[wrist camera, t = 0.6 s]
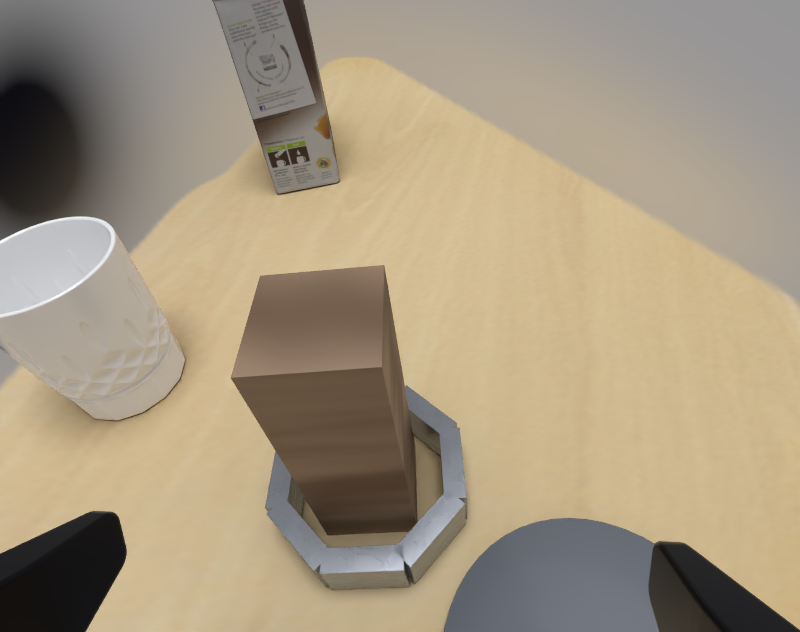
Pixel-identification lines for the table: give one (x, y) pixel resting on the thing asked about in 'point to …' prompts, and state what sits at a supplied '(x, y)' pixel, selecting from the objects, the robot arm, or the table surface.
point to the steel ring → (383, 561)
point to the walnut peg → (333, 395)
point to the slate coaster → (558, 581)
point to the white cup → (85, 318)
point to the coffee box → (282, 89)
